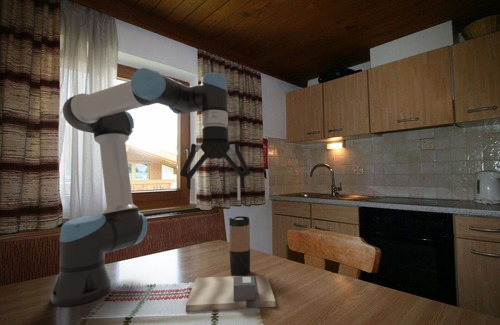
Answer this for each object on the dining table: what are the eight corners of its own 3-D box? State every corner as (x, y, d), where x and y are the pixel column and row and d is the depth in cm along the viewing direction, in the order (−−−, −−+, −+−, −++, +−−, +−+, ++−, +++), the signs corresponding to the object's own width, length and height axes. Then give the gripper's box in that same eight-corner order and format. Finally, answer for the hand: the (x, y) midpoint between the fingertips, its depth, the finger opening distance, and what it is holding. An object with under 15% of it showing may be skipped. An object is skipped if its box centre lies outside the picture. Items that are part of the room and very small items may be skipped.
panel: (185, 311, 66) (185, 305, 66) (196, 282, 84) (196, 277, 84) (275, 306, 68) (275, 300, 68) (266, 279, 86) (266, 274, 86)
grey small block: (233, 300, 68) (233, 284, 68) (233, 290, 74) (233, 276, 74) (255, 299, 69) (255, 283, 69) (253, 289, 75) (253, 275, 75)
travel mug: (250, 276, 88) (249, 219, 89) (228, 276, 88) (228, 219, 90) (250, 268, 96) (249, 216, 97) (230, 269, 96) (230, 216, 97)
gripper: (169, 125, 69) (169, 202, 68) (258, 124, 71) (259, 200, 69) (175, 130, 77) (175, 200, 75) (255, 129, 78) (257, 198, 77)
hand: (216, 200), depth 72 cm, fingers open, 13 cm apart
